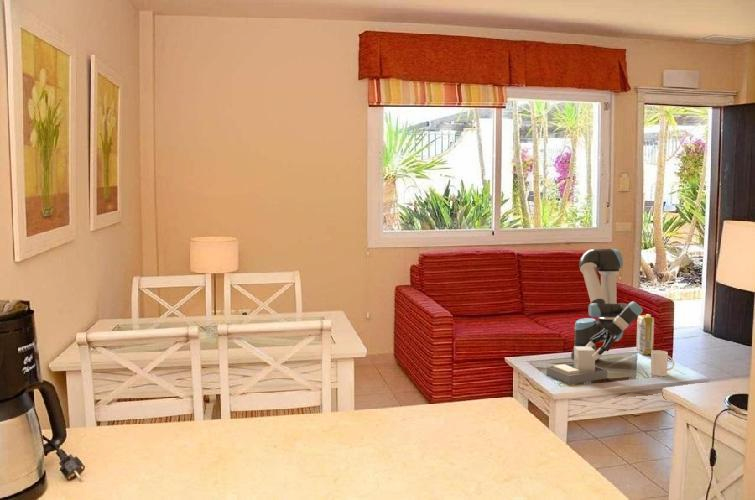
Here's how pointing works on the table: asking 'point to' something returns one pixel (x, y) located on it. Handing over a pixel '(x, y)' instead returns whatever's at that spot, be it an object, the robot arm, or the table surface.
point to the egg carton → (566, 369)
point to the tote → (577, 375)
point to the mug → (659, 363)
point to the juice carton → (645, 334)
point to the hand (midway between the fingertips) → (588, 354)
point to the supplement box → (584, 359)
